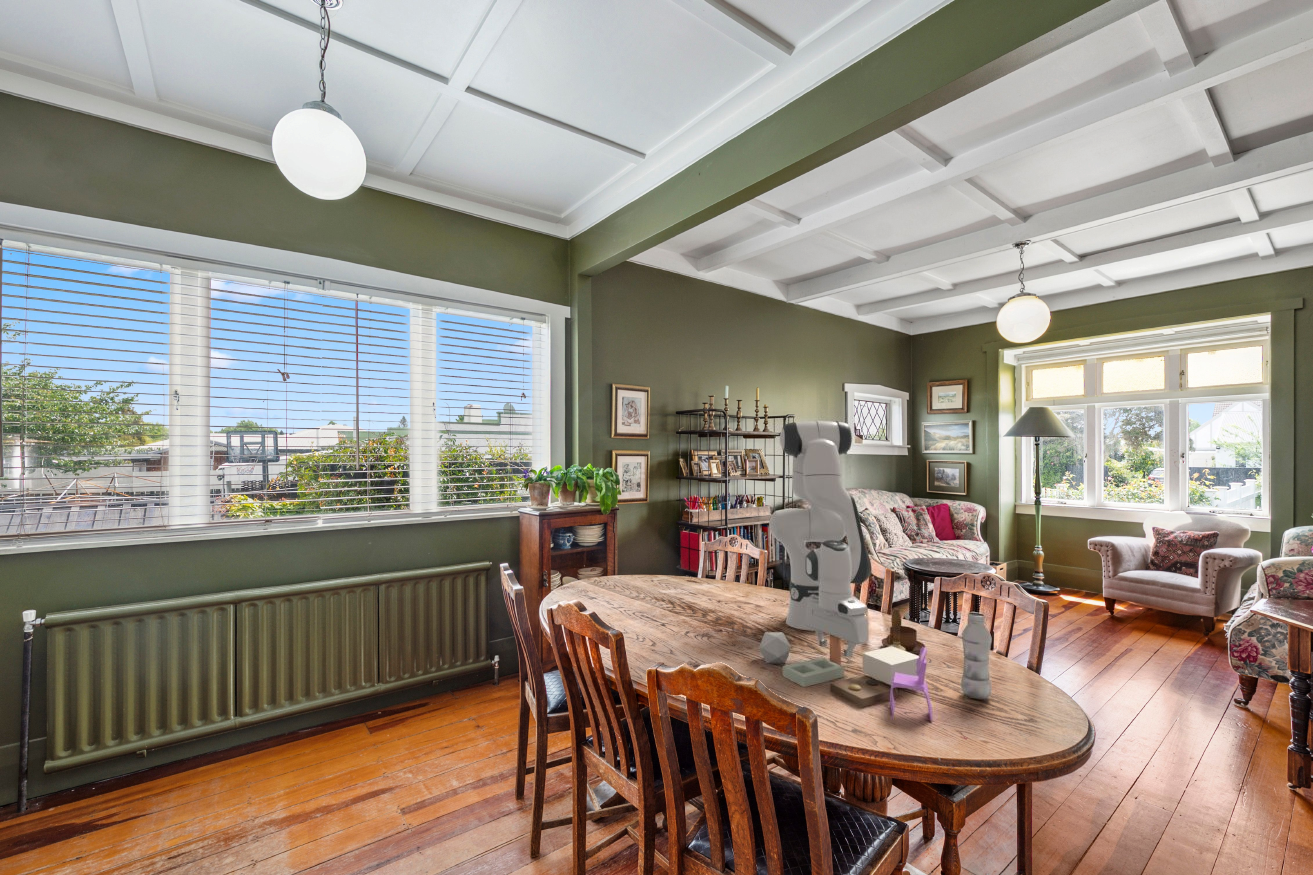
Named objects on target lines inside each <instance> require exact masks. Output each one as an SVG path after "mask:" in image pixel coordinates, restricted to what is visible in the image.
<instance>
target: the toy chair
mask: <svg viewBox="0 0 1313 875" xmlns="http://www.w3.org/2000/svg"><path fill="white" fill-rule="evenodd" d="M927 651H928V648H926V646H925V647H922V648H921V650H920V653H919V654H918V656H919V658H918V661H917V663H916V666H917V671H916V673H917V674H918V676H912V675H906V674H902V673H896V672H895V677H894V678H893V680H892V685H890V686H891V691H890V699H889V701H890V702H889V703H890V711H891V714H892V715H893V716H894V714H895V709H896V701H895V698H894V697H893V688H901V689H911V690H915V691H919V692H922V693H923V694H924V695H925V699H926V704H927V709H928V714H929V719H930V722H931V723H933V716H934V714H933V712H934V711H933V708H932V703H931V700H930V694H929V688H928V687H929V686H928V683H927V682H926V679H925V678H926V669H927V665H928V661H927V659H925V658H926V655H927Z"/></svg>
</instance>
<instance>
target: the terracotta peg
mask: <svg viewBox="0 0 1313 875" xmlns="http://www.w3.org/2000/svg"><path fill="white" fill-rule="evenodd" d="M829 661H831V662H834V663H836V664H838V665H840V666H842V639H841V638H838V637H835V636H833V635H830V634H829Z"/></svg>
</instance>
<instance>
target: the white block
mask: <svg viewBox="0 0 1313 875" xmlns="http://www.w3.org/2000/svg"><path fill="white" fill-rule="evenodd" d="M918 658H919V655H917V654H912V653H909V652H906V651H904V650H901V649H898V648H896V647H893V646H891V647H887V648H886V647H884V648H879V649H875V650H870V651H865V652H862V674H863V675H864V674H865V675H867V676H869V677H872V678H874V679H876V680H879V681H881V682H883V683H885V684H888V685H890V686H891V685H892V680H893V678H894V677H895V672H896V673H902V674H906V675H912V676H918V674H917V673H916V671H917V666H916V663H917V661H918Z"/></svg>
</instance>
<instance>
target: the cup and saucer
mask: <svg viewBox="0 0 1313 875" xmlns="http://www.w3.org/2000/svg"><path fill="white" fill-rule="evenodd" d="M917 633H918V632H917V629H916V628H913V627H911V626H907V625H906V626H905V625H901V628H900V645H901V646H902V647H904V648H905V650H906V652H909V653H912V654H915V655H917V654H920V650H921V648H922V647H925V648H926V645H925V644H924V643H923V642H920V641H918V640H917V638H918V637H917ZM893 635H894V632H893V627H892V626H890V627H889V634H888V635H887V637H885V638H883V639H882V640H881V643H882V645H883V647H884V648H887V647H889V646H890V645H893V639H894V638H893Z"/></svg>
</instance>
